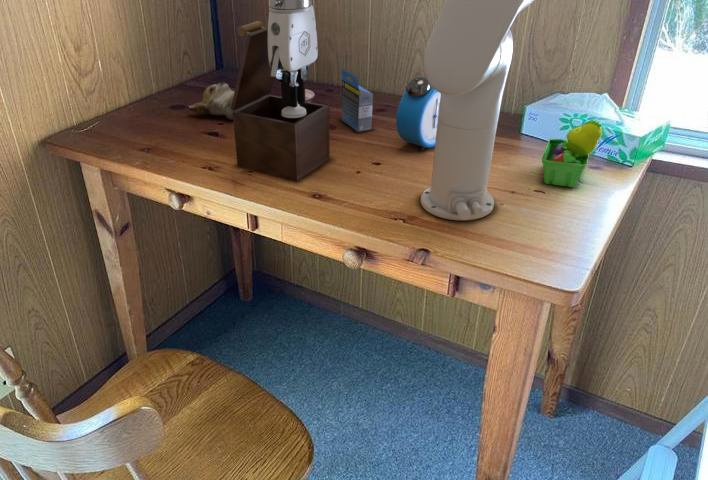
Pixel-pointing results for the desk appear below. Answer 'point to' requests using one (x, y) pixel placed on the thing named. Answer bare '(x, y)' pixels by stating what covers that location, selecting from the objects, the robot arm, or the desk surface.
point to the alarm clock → (419, 113)
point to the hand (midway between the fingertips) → (293, 103)
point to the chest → (281, 138)
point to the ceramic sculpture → (216, 101)
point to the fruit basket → (570, 154)
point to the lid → (253, 66)
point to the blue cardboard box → (356, 103)
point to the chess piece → (294, 111)
